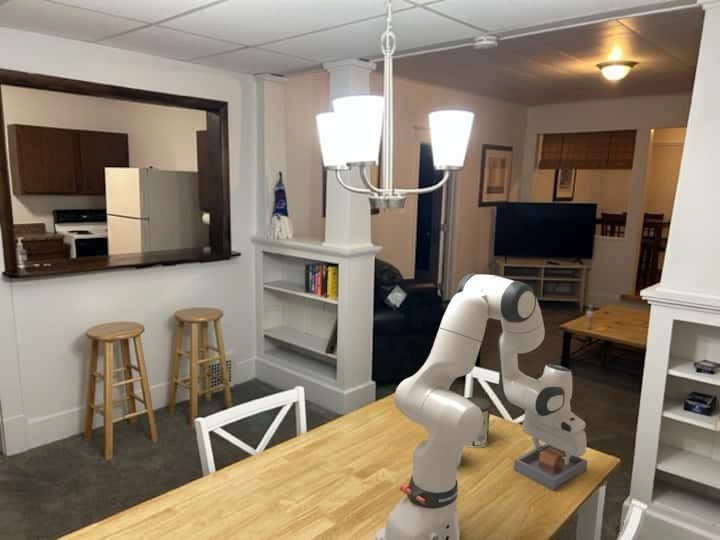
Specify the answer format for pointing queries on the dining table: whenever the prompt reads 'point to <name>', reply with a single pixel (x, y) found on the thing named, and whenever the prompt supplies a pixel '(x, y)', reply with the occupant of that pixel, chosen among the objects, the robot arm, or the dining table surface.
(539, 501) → the dining table surface
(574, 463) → the tray
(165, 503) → the dining table surface
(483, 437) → the coffee can
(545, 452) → the block
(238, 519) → the dining table surface
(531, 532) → the dining table surface
